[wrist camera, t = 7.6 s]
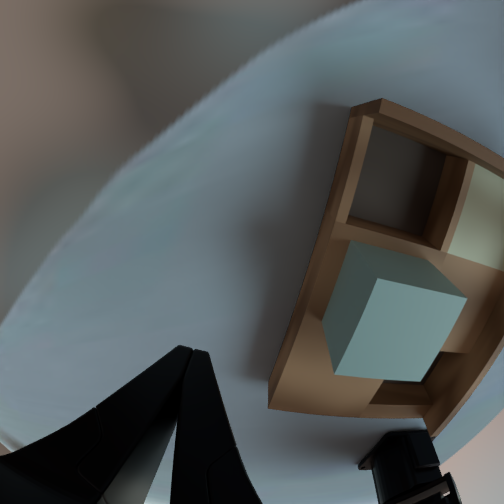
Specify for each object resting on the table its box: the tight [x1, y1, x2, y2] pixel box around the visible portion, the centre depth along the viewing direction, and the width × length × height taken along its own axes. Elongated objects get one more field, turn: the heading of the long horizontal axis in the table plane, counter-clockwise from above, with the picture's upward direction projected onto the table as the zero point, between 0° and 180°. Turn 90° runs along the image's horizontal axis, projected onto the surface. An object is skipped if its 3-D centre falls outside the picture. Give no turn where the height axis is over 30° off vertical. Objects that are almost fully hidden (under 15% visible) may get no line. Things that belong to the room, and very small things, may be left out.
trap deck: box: [268, 98, 504, 437], centre depth 15 cm, size 18×13×4 cm
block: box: [322, 240, 467, 382], centre depth 13 cm, size 4×4×4 cm
